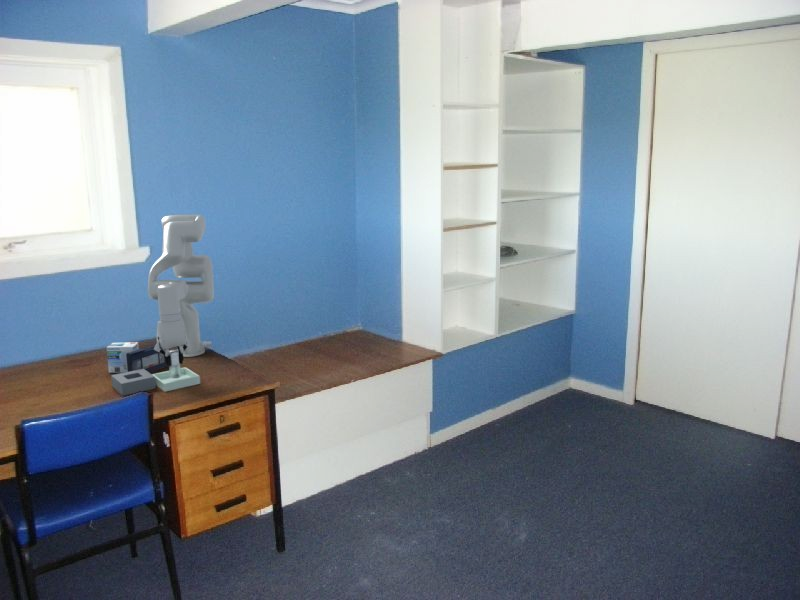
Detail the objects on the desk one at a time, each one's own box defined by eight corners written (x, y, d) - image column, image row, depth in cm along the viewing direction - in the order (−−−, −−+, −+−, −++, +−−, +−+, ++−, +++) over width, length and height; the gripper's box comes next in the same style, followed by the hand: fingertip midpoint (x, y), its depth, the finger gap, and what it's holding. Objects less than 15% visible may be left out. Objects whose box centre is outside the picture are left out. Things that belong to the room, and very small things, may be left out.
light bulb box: (108, 373, 271) (105, 347, 269) (114, 367, 278) (112, 342, 275) (135, 372, 271) (133, 346, 269) (141, 367, 278) (138, 341, 276)
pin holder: (144, 379, 263) (143, 368, 262) (155, 388, 254) (154, 376, 253) (112, 386, 255) (111, 375, 254) (122, 395, 246) (121, 383, 245)
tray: (186, 374, 269) (185, 367, 268) (200, 383, 258) (199, 375, 258) (151, 382, 260) (150, 374, 260) (164, 391, 250) (164, 383, 249)
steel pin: (178, 374, 262) (176, 349, 259) (182, 376, 259) (180, 351, 256) (168, 376, 259) (166, 351, 257) (172, 379, 256) (170, 353, 254)
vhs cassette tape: (132, 378, 264) (129, 354, 262) (127, 377, 266) (124, 353, 264) (170, 366, 279) (168, 342, 277) (165, 364, 281) (163, 341, 279)
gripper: (188, 311, 262) (191, 357, 266) (144, 318, 251) (148, 366, 255) (196, 315, 256) (199, 362, 260) (151, 322, 246) (155, 371, 250)
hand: (174, 363), depth 258 cm, fingers closed on steel pin, 4 cm apart
